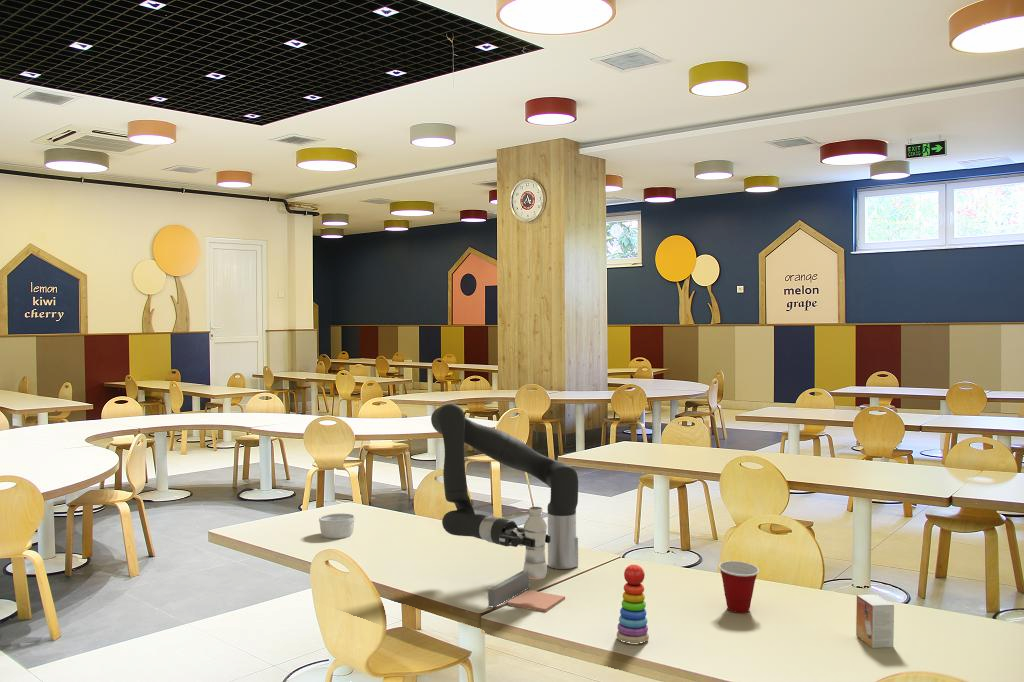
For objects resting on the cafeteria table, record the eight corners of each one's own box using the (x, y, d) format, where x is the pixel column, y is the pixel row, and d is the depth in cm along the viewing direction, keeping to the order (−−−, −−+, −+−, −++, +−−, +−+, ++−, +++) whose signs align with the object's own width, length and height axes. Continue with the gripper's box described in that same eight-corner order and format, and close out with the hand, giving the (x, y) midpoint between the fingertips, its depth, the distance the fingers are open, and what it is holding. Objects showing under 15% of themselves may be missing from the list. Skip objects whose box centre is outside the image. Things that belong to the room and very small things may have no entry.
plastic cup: (737, 619, 223) (737, 574, 223) (710, 607, 233) (710, 564, 232) (768, 612, 228) (768, 568, 228) (740, 600, 238) (740, 558, 237)
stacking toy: (627, 647, 204) (627, 571, 204) (610, 636, 212) (610, 562, 211) (655, 642, 207) (654, 567, 207) (637, 631, 215) (637, 558, 214)
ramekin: (326, 530, 322) (326, 512, 322) (359, 531, 320) (359, 513, 320) (313, 539, 309) (313, 520, 309) (348, 540, 307) (348, 521, 307)
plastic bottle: (545, 582, 234) (545, 511, 233) (521, 581, 235) (521, 509, 235) (548, 575, 240) (549, 506, 240) (525, 574, 242) (526, 505, 241)
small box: (855, 636, 211) (855, 594, 210) (877, 635, 211) (877, 593, 211) (872, 648, 203) (872, 605, 202) (894, 647, 203) (894, 604, 203)
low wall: (523, 586, 252) (523, 570, 251) (529, 587, 251) (529, 571, 250) (488, 606, 234) (488, 589, 234) (494, 608, 233) (494, 590, 233)
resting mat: (528, 592, 246) (528, 589, 246) (565, 599, 240) (565, 596, 240) (507, 604, 236) (507, 602, 236) (545, 611, 230) (545, 609, 230)
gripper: (481, 522, 242) (525, 532, 230) (514, 514, 252) (558, 523, 241) (481, 548, 242) (525, 560, 231) (514, 538, 253) (558, 549, 241)
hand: (542, 541), depth 236 cm, fingers closed on plastic bottle, 6 cm apart
